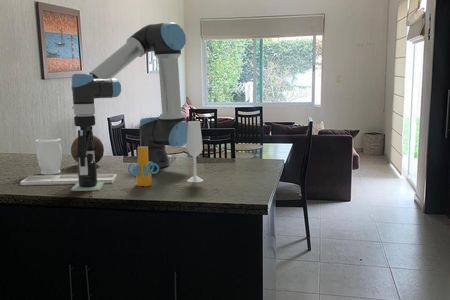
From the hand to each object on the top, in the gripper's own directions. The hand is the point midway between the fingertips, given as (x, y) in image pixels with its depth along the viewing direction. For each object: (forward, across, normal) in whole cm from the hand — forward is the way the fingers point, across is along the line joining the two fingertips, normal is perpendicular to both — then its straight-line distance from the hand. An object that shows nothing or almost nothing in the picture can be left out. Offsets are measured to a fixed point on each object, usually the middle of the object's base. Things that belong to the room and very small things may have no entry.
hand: (87, 171), depth 176 cm
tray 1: (+6, -12, -22) cm, 25 cm away
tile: (+6, 0, 0) cm, 6 cm away
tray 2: (+6, -12, +2) cm, 14 cm away
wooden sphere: (+7, -45, -9) cm, 46 cm away
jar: (+7, -29, -22) cm, 37 cm away
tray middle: (+6, -12, -10) cm, 17 cm away
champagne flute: (+7, -8, +41) cm, 42 cm away
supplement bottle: (+6, 0, 0) cm, 6 cm away
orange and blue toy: (+7, -2, +21) cm, 22 cm away
